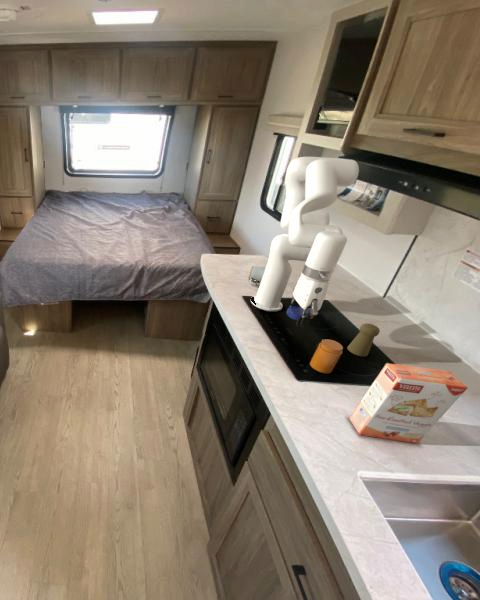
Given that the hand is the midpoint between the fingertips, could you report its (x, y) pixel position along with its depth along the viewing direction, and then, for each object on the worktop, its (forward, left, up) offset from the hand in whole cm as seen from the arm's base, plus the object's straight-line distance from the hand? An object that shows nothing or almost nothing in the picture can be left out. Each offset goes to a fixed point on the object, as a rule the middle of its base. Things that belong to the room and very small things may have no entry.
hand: (296, 320), depth 109 cm
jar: (+6, +10, -14) cm, 18 cm away
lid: (0, 0, +3) cm, 3 cm away
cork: (-6, +27, -14) cm, 31 cm away
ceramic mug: (-56, +6, -14) cm, 58 cm away
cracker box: (+31, +15, -14) cm, 37 cm away
